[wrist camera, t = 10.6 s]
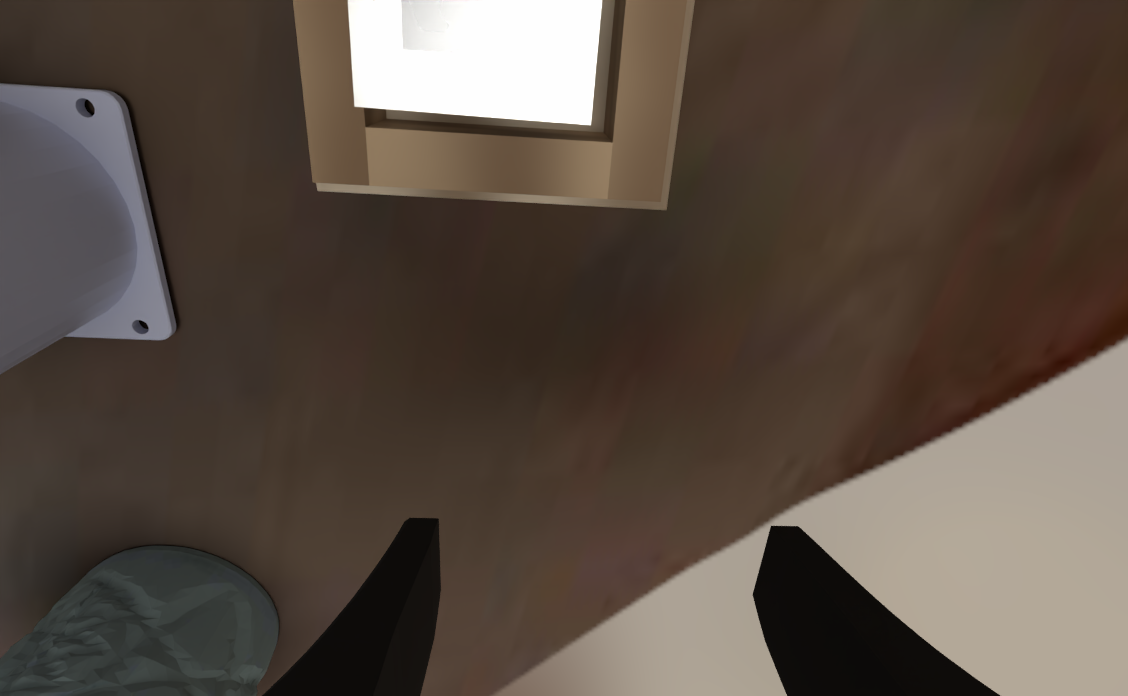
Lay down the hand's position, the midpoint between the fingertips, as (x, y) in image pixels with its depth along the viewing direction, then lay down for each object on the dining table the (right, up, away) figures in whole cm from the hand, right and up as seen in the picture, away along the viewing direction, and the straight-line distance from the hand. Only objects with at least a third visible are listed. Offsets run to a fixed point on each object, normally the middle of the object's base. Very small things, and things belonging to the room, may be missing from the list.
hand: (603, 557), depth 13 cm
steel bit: (-3, +14, +4) cm, 15 cm away
